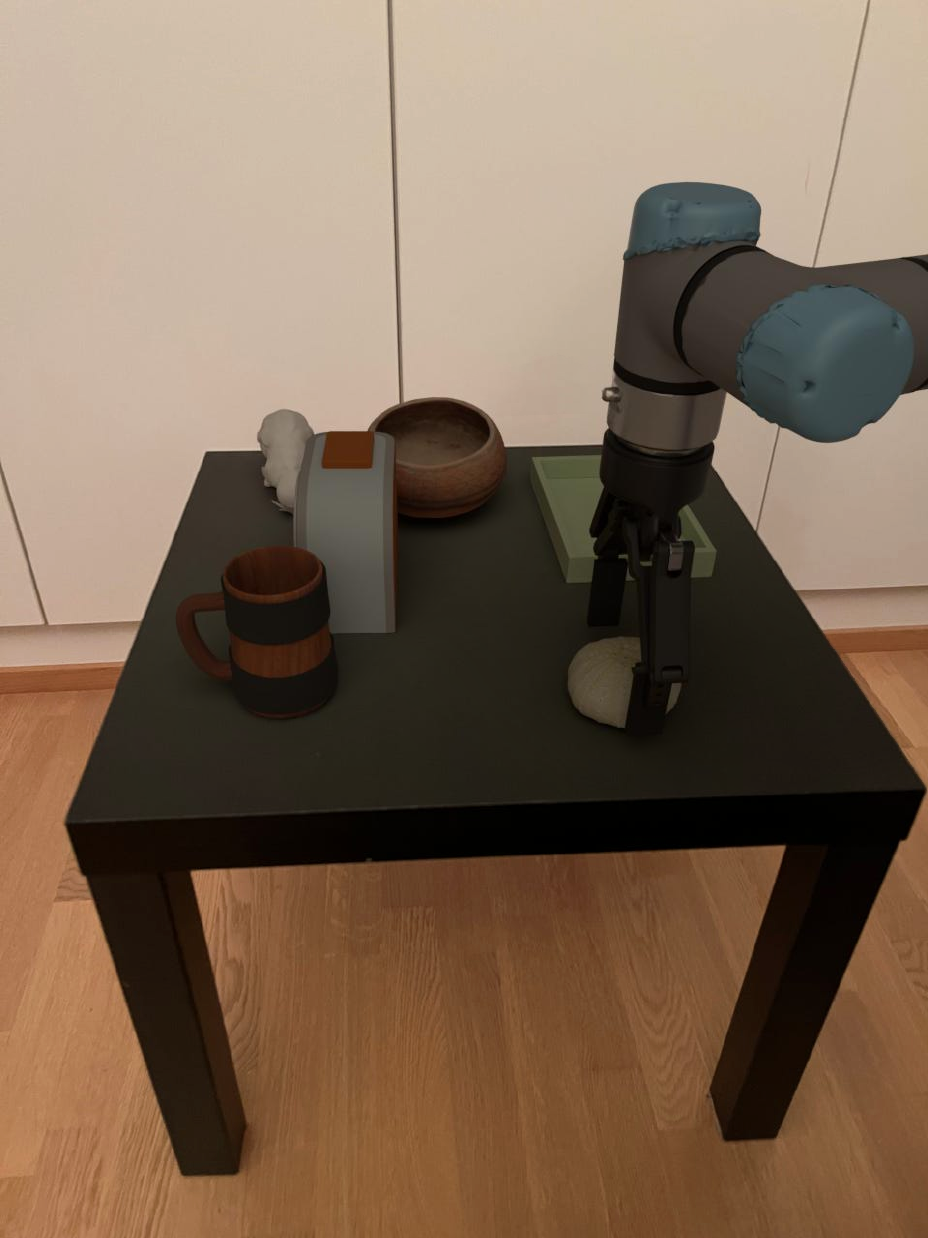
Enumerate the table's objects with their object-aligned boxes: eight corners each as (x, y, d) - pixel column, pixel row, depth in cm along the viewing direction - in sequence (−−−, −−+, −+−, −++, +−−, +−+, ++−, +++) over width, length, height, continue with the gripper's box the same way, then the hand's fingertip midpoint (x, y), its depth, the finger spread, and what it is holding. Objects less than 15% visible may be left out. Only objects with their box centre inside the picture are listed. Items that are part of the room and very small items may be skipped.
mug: (190, 669, 80) (168, 551, 74) (331, 650, 83) (322, 535, 76) (191, 737, 74) (167, 615, 67) (345, 714, 76) (337, 594, 69)
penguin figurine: (310, 400, 105) (323, 456, 96) (315, 466, 111) (328, 525, 102) (252, 404, 104) (260, 461, 95) (260, 470, 110) (268, 531, 101)
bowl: (346, 531, 99) (341, 444, 94) (380, 465, 112) (377, 384, 106) (494, 546, 98) (498, 458, 92) (512, 477, 110) (516, 395, 104)
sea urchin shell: (712, 687, 77) (672, 656, 71) (652, 764, 77) (607, 739, 71) (634, 631, 83) (591, 597, 77) (579, 702, 83) (533, 675, 77)
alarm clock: (315, 546, 97) (304, 423, 89) (398, 546, 97) (395, 423, 89) (300, 633, 85) (287, 499, 77) (396, 632, 85) (392, 499, 77)
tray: (711, 577, 94) (717, 551, 92) (566, 583, 92) (569, 557, 90) (652, 476, 111) (656, 452, 109) (530, 480, 110) (531, 456, 108)
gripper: (569, 364, 74) (548, 588, 87) (655, 530, 54) (611, 790, 67) (663, 363, 75) (628, 585, 87) (782, 525, 55) (715, 783, 67)
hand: (621, 674), depth 77 cm, fingers open, 13 cm apart
